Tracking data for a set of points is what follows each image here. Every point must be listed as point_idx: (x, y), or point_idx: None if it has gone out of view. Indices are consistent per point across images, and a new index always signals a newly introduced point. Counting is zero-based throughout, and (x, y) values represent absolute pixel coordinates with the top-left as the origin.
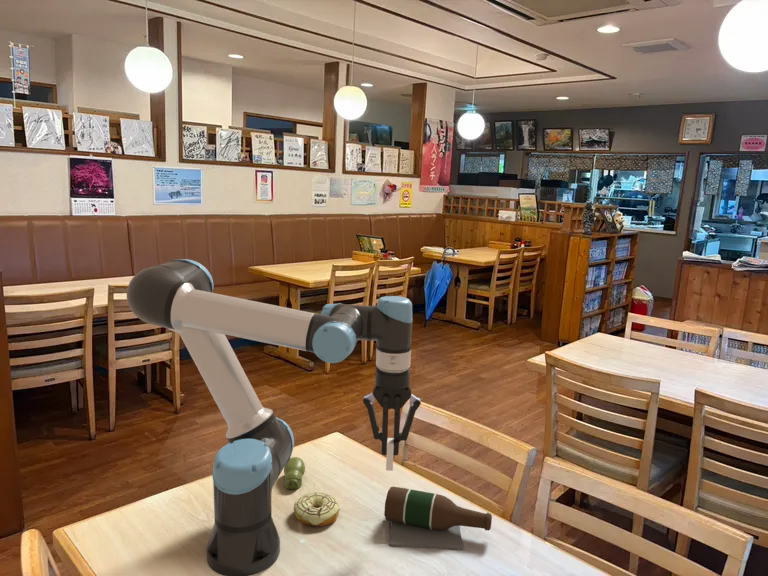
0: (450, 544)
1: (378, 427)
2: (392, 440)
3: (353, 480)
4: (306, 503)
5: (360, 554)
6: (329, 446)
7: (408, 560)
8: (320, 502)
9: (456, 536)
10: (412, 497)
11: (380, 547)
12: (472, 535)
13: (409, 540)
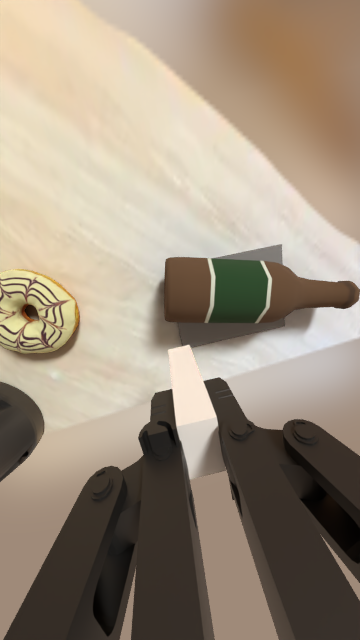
0: (267, 325)
1: (104, 559)
2: (213, 444)
3: (46, 154)
4: (5, 327)
5: (147, 375)
6: None
7: (212, 367)
8: (28, 303)
9: None
10: (223, 309)
11: None
12: None
13: (209, 334)
